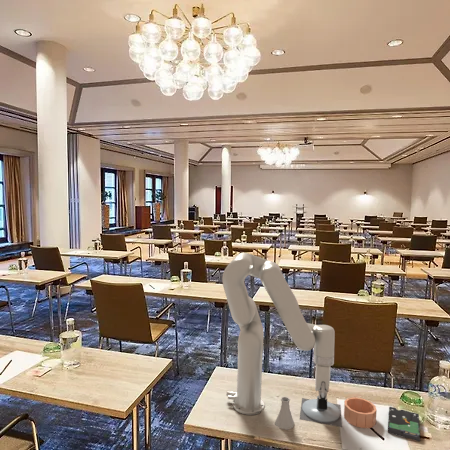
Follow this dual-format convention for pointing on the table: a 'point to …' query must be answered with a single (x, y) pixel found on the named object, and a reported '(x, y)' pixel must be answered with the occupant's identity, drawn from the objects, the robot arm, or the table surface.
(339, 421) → the mat
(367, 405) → the bowl
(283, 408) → the flask
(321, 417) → the lid
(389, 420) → the disk drive
